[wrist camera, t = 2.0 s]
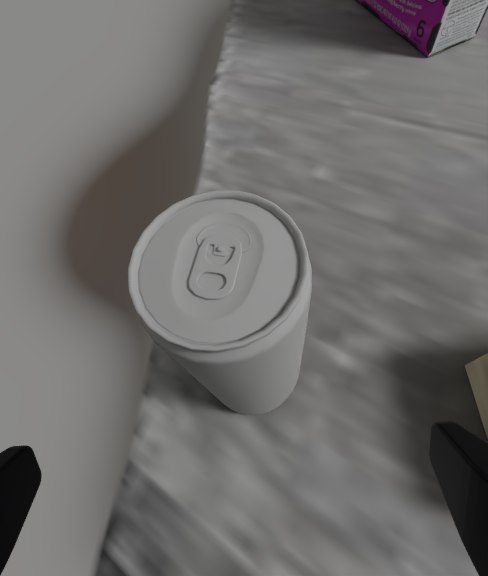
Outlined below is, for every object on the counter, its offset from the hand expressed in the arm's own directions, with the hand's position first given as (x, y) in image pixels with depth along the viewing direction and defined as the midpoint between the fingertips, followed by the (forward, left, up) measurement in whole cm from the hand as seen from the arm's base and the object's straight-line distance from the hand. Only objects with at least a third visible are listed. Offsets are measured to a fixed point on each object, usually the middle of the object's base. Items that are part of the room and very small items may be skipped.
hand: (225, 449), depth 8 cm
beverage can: (+2, +4, -11) cm, 12 cm away
